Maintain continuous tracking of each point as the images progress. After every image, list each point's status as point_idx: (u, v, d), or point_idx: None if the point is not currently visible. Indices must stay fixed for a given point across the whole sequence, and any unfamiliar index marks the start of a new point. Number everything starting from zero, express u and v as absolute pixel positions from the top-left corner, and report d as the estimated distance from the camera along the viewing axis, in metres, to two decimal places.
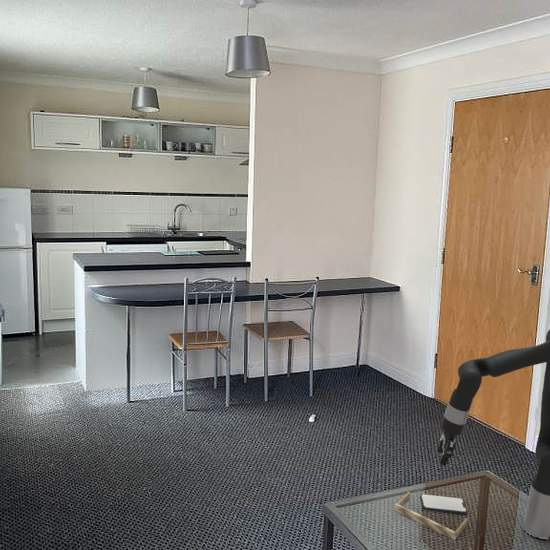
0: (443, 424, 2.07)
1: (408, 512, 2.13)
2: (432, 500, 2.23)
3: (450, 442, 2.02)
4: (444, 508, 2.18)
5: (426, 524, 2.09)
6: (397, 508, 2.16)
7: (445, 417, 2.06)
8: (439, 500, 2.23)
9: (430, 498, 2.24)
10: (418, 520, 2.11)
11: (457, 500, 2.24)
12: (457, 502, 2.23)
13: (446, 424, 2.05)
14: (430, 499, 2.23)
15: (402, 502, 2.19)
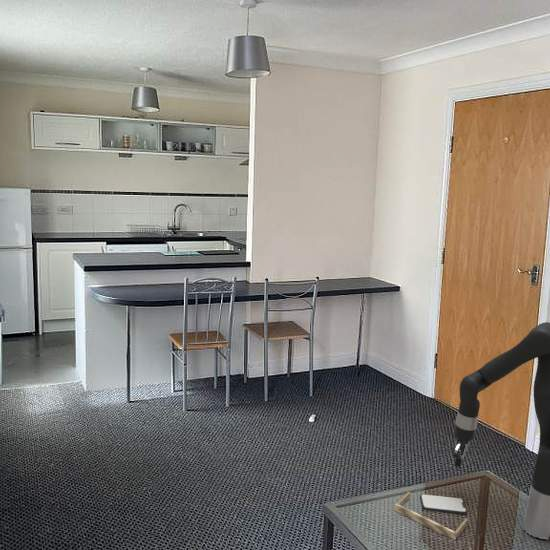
0: (454, 429, 2.24)
1: (408, 512, 2.13)
2: (432, 500, 2.23)
3: (454, 450, 2.20)
4: (443, 508, 2.18)
5: (426, 524, 2.09)
6: (397, 508, 2.16)
7: (455, 422, 2.23)
8: (439, 500, 2.23)
9: (430, 498, 2.24)
10: (418, 520, 2.11)
11: (457, 500, 2.24)
12: (457, 502, 2.22)
13: (455, 428, 2.22)
14: (430, 499, 2.23)
15: (402, 502, 2.19)
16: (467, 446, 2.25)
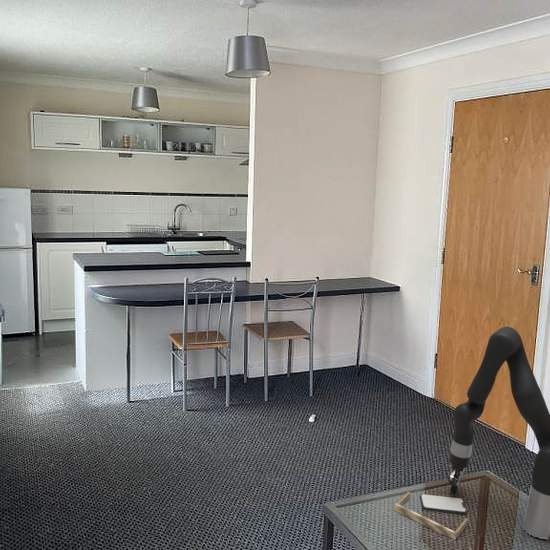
0: (449, 456, 2.27)
1: (408, 512, 2.13)
2: (432, 500, 2.23)
3: (449, 478, 2.23)
4: (443, 508, 2.18)
5: (426, 524, 2.09)
6: (397, 508, 2.16)
7: (450, 450, 2.26)
8: (439, 500, 2.23)
9: (429, 498, 2.24)
10: (418, 520, 2.11)
11: (457, 500, 2.24)
12: (457, 502, 2.22)
13: (450, 456, 2.25)
14: (430, 499, 2.23)
15: (402, 502, 2.19)
16: (462, 473, 2.28)
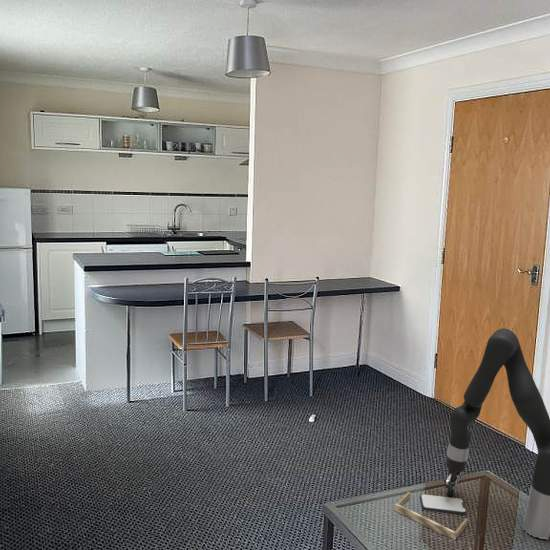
0: None
1: (408, 512, 2.13)
2: (432, 500, 2.23)
3: (445, 482, 2.21)
4: (443, 508, 2.18)
5: (426, 524, 2.09)
6: (397, 508, 2.16)
7: None
8: (439, 500, 2.23)
9: (429, 498, 2.24)
10: (418, 520, 2.11)
11: (457, 500, 2.24)
12: (457, 502, 2.22)
13: (446, 459, 2.23)
14: (430, 499, 2.23)
15: (402, 502, 2.19)
16: (459, 477, 2.25)
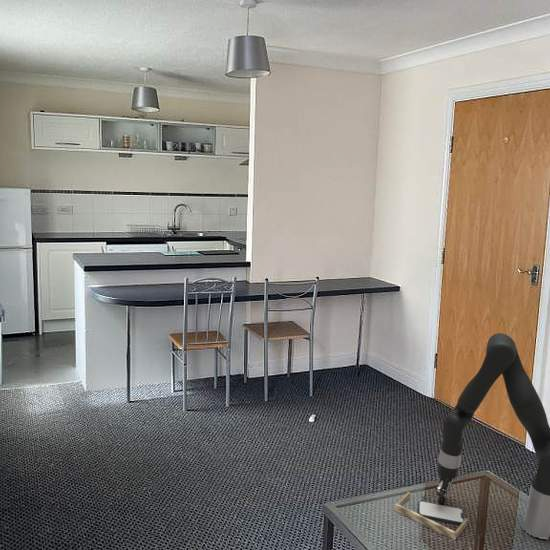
0: (437, 466, 2.19)
1: (408, 512, 2.13)
2: (429, 508, 2.18)
3: (437, 489, 2.15)
4: (440, 517, 2.13)
5: (426, 524, 2.09)
6: (397, 508, 2.16)
7: (438, 460, 2.18)
8: (437, 508, 2.18)
9: (428, 506, 2.19)
10: (418, 520, 2.11)
11: (456, 510, 2.18)
12: (456, 512, 2.16)
13: (438, 466, 2.17)
14: (428, 506, 2.19)
15: (402, 502, 2.19)
16: (451, 484, 2.20)
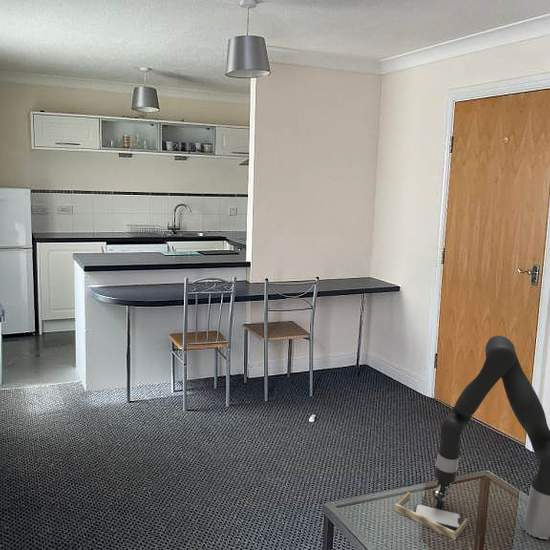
0: None
1: (408, 512, 2.13)
2: (426, 511, 2.16)
3: (435, 493, 2.13)
4: (435, 521, 2.11)
5: (426, 524, 2.09)
6: (397, 508, 2.16)
7: (436, 463, 2.16)
8: (434, 512, 2.16)
9: (425, 509, 2.17)
10: (418, 520, 2.11)
11: (453, 515, 2.15)
12: (453, 517, 2.14)
13: (435, 470, 2.15)
14: (425, 510, 2.17)
15: (402, 502, 2.19)
16: (448, 488, 2.17)
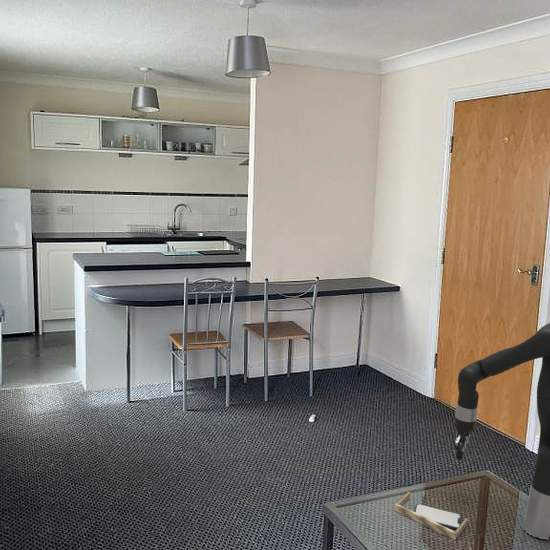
0: (454, 421, 2.23)
1: (408, 512, 2.13)
2: (426, 511, 2.16)
3: (455, 443, 2.19)
4: (435, 520, 2.11)
5: (426, 524, 2.09)
6: (397, 508, 2.16)
7: (455, 415, 2.22)
8: (434, 512, 2.16)
9: (425, 509, 2.17)
10: (418, 520, 2.11)
11: (453, 515, 2.15)
12: (453, 517, 2.14)
13: (455, 420, 2.21)
14: (425, 510, 2.17)
15: (402, 502, 2.19)
16: (468, 438, 2.23)
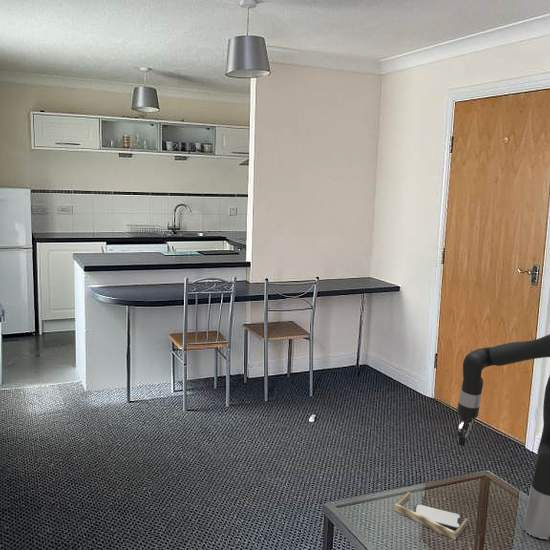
0: None
1: (408, 512, 2.13)
2: (426, 511, 2.16)
3: (458, 429, 2.18)
4: (435, 520, 2.11)
5: (426, 524, 2.09)
6: (397, 508, 2.16)
7: None
8: (434, 512, 2.16)
9: (424, 509, 2.17)
10: (418, 520, 2.11)
11: (453, 515, 2.15)
12: (453, 517, 2.14)
13: (458, 406, 2.20)
14: (425, 510, 2.17)
15: (402, 502, 2.19)
16: (471, 425, 2.22)
